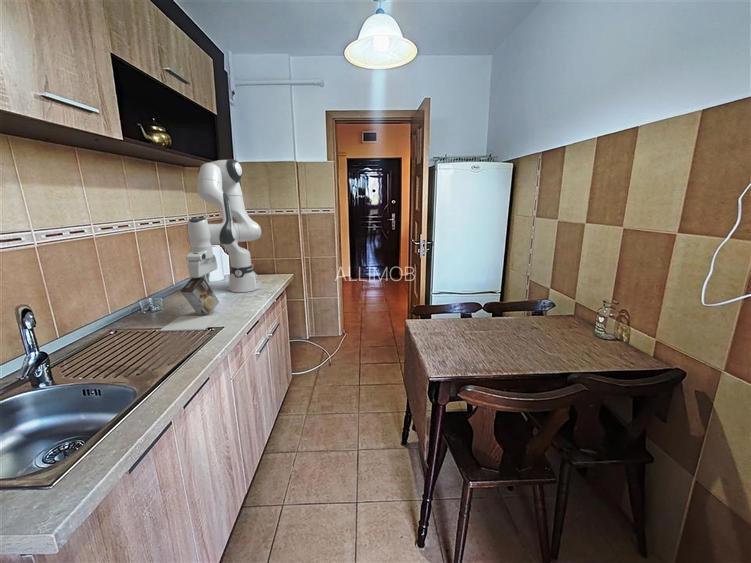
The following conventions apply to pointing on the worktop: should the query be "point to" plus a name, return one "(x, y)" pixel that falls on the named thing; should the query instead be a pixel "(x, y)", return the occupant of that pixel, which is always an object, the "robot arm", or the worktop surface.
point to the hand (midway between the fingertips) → (206, 283)
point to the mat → (190, 323)
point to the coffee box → (200, 296)
